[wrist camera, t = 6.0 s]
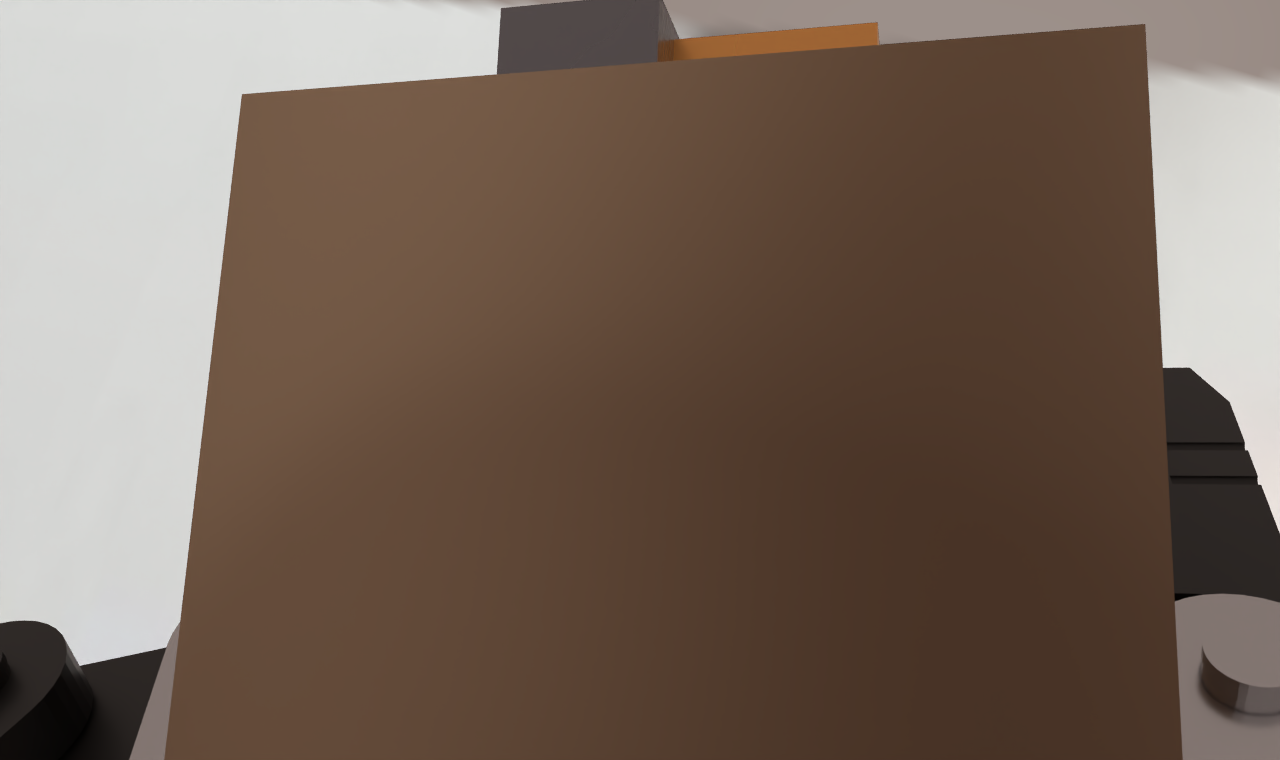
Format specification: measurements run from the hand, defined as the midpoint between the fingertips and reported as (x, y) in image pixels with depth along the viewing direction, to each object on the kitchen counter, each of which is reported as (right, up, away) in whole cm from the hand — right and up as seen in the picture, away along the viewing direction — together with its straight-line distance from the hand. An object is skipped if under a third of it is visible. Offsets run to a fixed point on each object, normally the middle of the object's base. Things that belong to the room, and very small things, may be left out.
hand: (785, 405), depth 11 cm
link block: (+1, -2, +4) cm, 4 cm away
